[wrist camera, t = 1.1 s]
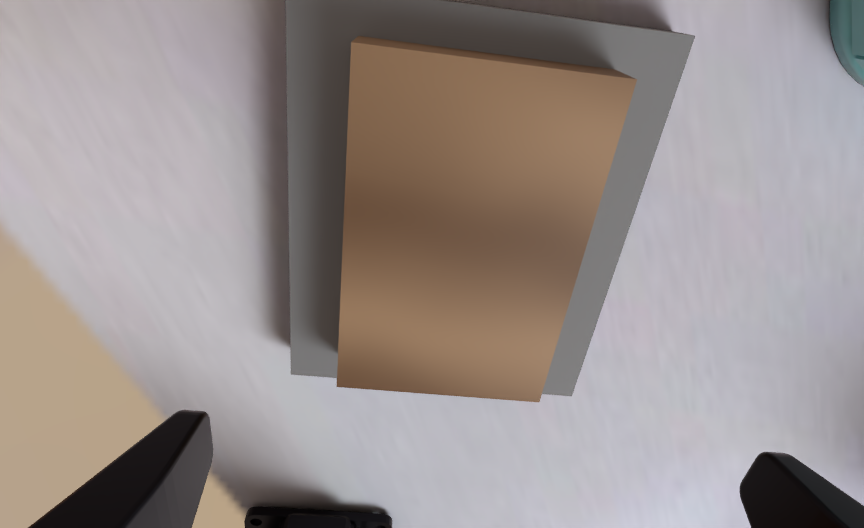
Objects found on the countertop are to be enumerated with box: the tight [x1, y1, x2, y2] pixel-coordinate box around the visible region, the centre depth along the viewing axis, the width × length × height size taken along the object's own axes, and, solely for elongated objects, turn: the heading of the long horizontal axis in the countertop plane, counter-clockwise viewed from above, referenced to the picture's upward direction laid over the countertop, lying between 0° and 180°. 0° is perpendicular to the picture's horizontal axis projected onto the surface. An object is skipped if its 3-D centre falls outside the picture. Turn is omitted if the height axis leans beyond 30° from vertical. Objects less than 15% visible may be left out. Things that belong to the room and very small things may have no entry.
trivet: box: [285, 0, 695, 396], centre depth 16 cm, size 12×10×1 cm
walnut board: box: [337, 36, 637, 402], centre depth 14 cm, size 10×6×2 cm, turn 173°
